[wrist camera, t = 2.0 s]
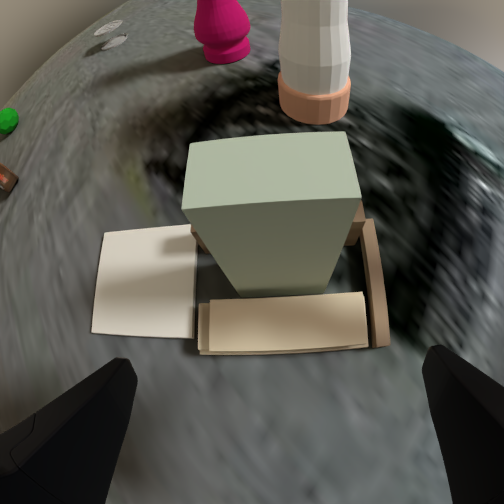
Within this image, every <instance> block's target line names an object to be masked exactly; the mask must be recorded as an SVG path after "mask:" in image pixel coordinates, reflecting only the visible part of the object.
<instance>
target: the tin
mask: <svg viewBox="0 0 504 504" xmlns="http://www.w3.org/2000/svg"><path fill="white" fill-rule="evenodd" d="M17 179H19V177H18V176H17V175H15V174H14V173H13V172H12V171H11V170H9V169H8V168H7V167H6V166H4V165H3V164H2V163H0V188H2V189H3V190H5V191H7V192H10V191H11V190H12V188H13V186H14V184H15V183H16V181H17Z"/></svg>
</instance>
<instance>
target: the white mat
mask: <svg viewBox="0 0 504 504" xmlns="http://www.w3.org/2000/svg"><path fill="white" fill-rule="evenodd" d="M190 230H191V224H189V225H178V226H167V227H156V228H146V229H136V230H126V231H116V232H107V233H105V234H104V239H103V245H102V250H101V256H100V263H99V269H98V276H97V283H96V291H95V300H94V310H93V320H92V333H97V334H108V335H122V336H138V337H158V338H190V339H194V333H195V298H196V274H197V255H198V242H197V241H196V239H195V238H194V237H193V235H192V234H191V232H190Z"/></svg>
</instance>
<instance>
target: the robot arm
mask: <svg viewBox="0 0 504 504" xmlns="http://www.w3.org/2000/svg"><path fill="white" fill-rule="evenodd" d="M422 374H423V379H424V383H425V388H426V393H427V398H428V403H429V408H430V413H431V417H432V420H433V424H434V427H435V431H436V434H437V438H438V441H439V445H440V449H441V453H442V456H443V460H444V465H445V469H446V473H447V477H448V482H449V487H450V492H451V497H452V502H453V504H504V387H503V386H502V385H500V384H499V383H498V382H496V381H495V380H493V379H492V378H490V377H489V376H488V375H486V374H485V373H483V372H482V371H480V370H479V369H477V368H476V367H474V366H473V365H472V364H470V363H469V362H467V361H466V360H464V359H463V358H461V357H460V356H458V355H457V354H455V353H454V352H452V351H451V350H449V349H448V348H446V347H445V346H443V345H435V346H431V347H429V349H428V351H427V354H426V357H425V360H424V363H423V366H422ZM137 382H138V380H137V375H136V373H135V371H134V369H133V367H132V364H131V362H130V360H129V359H127V358H122V357H116V358H114V359H113V360H111V361H110V362H108V363H107V364H105V365H104V366H103V367H101V368H100V369H98V370H97V371H95V372H94V373H92V374H91V375H90V376H88V377H87V378H85V379H84V380H82V381H81V382H79V383H78V384H76V385H75V386H74V387H72V388H71V389H69V390H68V391H66V392H65V393H63V394H62V395H60V396H59V397H58V398H56V399H55V400H53V401H52V402H50V403H49V404H47V405H46V406H44V407H43V408H41V409H40V410H39V411H37V412H36V413H34V414H33V415H31V416H30V417H28V418H27V419H25V420H24V421H22V422H21V423H19V424H17V425H16V426H14V427H12V428H11V429H9V430H7V431H5V432H4V433H2V434H0V504H105V502H106V498H107V494H108V491H109V487H110V484H111V480H112V476H113V473H114V470H115V466H116V463H117V459H118V456H119V453H120V450H121V446H122V443H123V440H124V437H125V434H126V431H127V427H128V424H129V420H130V416H131V411H132V406H133V401H134V397H135V392H136V387H137Z"/></svg>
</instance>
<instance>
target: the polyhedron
mask: <svg viewBox="0 0 504 504" xmlns="http://www.w3.org/2000/svg"><path fill="white" fill-rule="evenodd" d="M18 120H19V116H18V114H17V112H16V110H15V109H12V108H6V109H4V110H2V111H0V133H1V134H7V133H9V132H12V131H13V130H14V129H15V128H16V126H17V124H18Z"/></svg>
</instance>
